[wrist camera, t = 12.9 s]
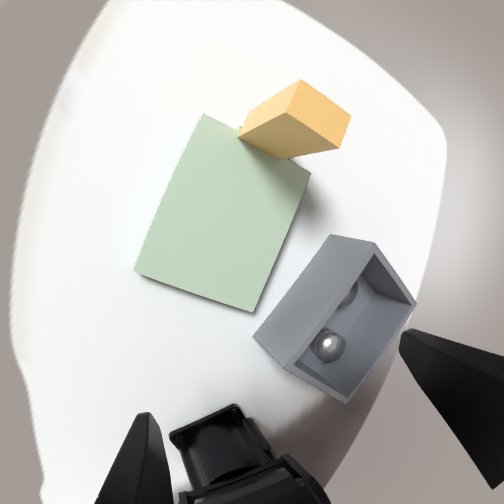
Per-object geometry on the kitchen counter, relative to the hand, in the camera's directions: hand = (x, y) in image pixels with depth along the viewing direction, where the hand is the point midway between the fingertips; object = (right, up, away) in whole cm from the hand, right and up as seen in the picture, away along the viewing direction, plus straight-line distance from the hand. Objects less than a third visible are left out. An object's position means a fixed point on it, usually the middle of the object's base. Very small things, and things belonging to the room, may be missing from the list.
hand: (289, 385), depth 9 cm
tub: (+5, -1, +16) cm, 16 cm away
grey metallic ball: (+5, -3, +15) cm, 16 cm away
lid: (-3, +7, +11) cm, 14 cm away
